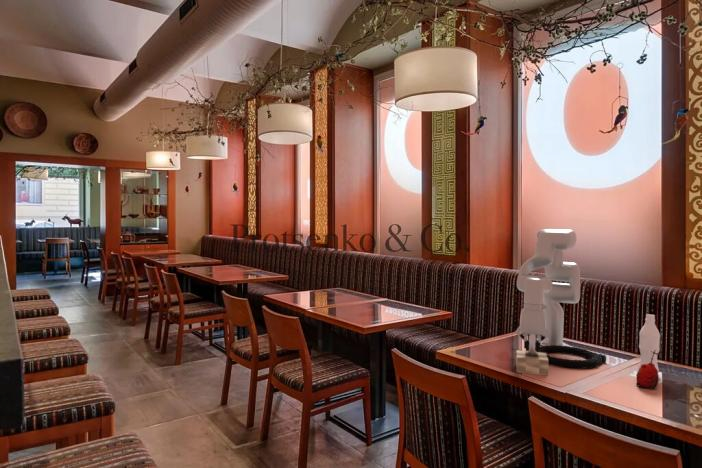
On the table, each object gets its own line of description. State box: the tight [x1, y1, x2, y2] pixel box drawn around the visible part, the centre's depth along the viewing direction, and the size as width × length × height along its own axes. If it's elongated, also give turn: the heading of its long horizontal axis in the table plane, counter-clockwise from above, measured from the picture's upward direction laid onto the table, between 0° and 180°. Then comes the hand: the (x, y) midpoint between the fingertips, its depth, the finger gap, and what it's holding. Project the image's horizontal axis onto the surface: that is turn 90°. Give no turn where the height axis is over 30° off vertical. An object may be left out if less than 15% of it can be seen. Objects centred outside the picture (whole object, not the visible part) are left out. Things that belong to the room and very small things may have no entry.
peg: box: [527, 334, 538, 357], centre depth 201 cm, size 4×4×14 cm
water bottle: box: [637, 313, 661, 374], centre depth 195 cm, size 7×7×25 cm
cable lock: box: [538, 345, 607, 369], centre depth 216 cm, size 28×4×30 cm
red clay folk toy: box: [635, 350, 660, 390], centre depth 182 cm, size 8×7×15 cm
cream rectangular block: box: [515, 349, 549, 376], centre depth 201 cm, size 12×12×6 cm
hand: (531, 350), depth 201 cm, fingers closed on peg, 3 cm apart
